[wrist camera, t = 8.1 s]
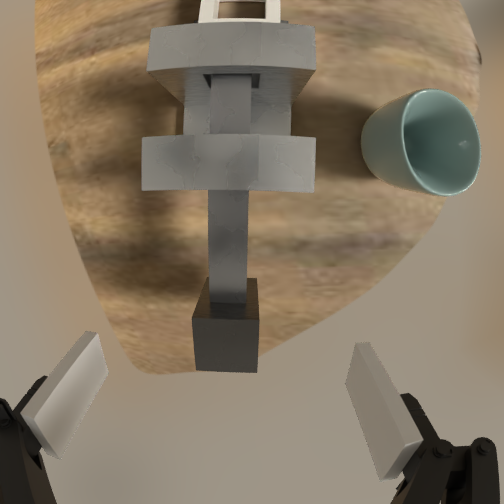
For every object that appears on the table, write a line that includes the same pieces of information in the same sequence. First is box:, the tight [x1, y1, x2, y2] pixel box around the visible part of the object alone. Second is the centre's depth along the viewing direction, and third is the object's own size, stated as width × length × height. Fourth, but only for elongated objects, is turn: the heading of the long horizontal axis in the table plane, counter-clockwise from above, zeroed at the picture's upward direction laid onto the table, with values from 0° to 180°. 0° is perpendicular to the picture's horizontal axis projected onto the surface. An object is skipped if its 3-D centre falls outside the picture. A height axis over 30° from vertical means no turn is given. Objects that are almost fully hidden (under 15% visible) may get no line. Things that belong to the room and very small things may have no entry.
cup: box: [360, 89, 481, 197], centre depth 21 cm, size 8×8×10 cm
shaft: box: [192, 73, 259, 373], centre depth 19 cm, size 21×4×7 cm, turn 179°
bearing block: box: [142, 22, 316, 193], centre depth 20 cm, size 11×9×11 cm
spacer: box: [198, 0, 280, 23], centre depth 20 cm, size 3×7×7 cm
